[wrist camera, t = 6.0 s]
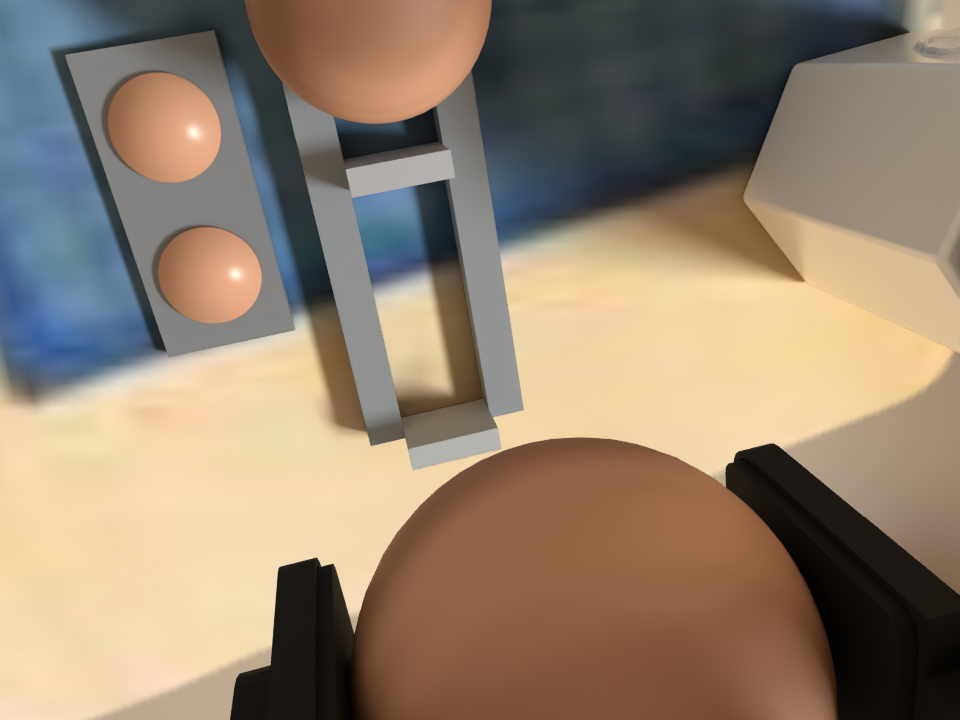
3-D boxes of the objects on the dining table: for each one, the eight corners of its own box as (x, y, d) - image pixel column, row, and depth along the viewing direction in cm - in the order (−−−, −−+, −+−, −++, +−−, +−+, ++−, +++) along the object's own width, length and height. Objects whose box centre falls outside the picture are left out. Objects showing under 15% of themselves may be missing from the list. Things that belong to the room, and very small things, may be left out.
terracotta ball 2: (301, 419, 11) (286, 762, 6) (686, 332, 12) (999, 562, 6) (384, 720, 14) (431, 1168, 8) (703, 631, 14) (944, 987, 9)
